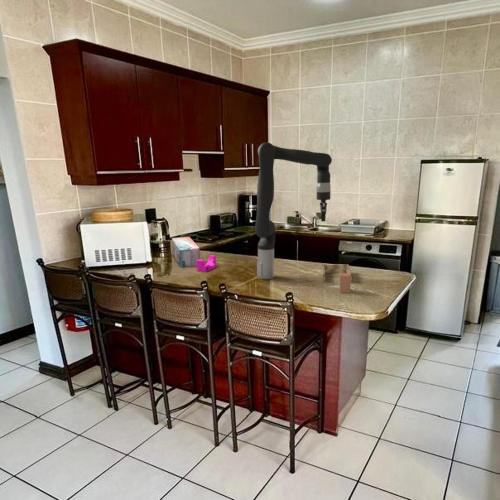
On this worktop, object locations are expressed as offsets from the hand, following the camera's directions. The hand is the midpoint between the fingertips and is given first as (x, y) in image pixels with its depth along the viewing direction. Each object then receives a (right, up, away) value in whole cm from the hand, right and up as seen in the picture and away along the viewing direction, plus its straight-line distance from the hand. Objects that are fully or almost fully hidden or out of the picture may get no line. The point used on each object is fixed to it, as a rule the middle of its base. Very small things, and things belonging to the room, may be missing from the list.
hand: (323, 220), depth 213 cm
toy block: (-67, -29, +30) cm, 79 cm away
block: (+7, -38, -20) cm, 43 cm away
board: (+7, -38, -19) cm, 44 cm away
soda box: (-86, -24, +55) cm, 105 cm away
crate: (+8, -33, +5) cm, 34 cm away
